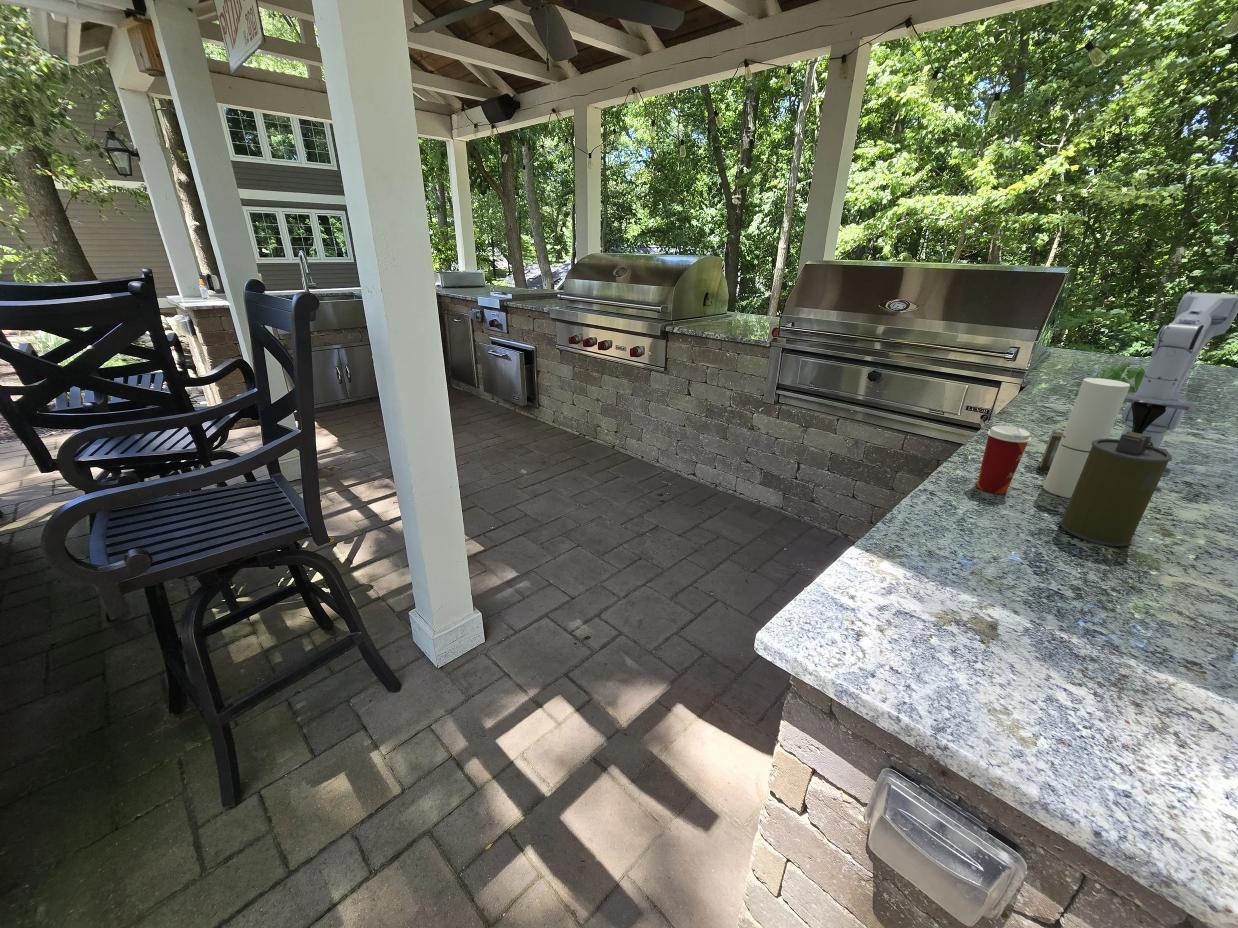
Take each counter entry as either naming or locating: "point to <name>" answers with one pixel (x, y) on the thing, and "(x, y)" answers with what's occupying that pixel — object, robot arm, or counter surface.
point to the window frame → (1054, 450)
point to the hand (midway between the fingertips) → (1135, 434)
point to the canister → (1114, 489)
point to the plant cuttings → (1117, 374)
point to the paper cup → (1001, 458)
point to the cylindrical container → (1084, 431)
